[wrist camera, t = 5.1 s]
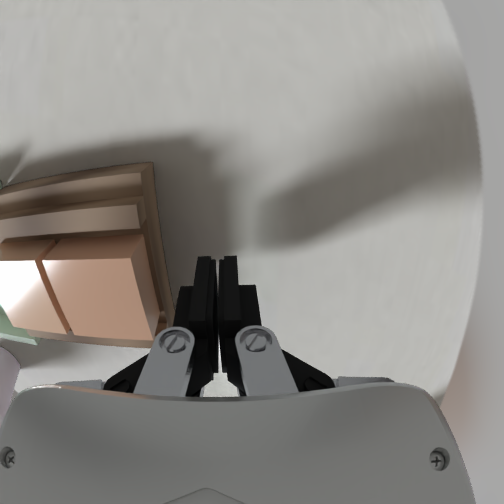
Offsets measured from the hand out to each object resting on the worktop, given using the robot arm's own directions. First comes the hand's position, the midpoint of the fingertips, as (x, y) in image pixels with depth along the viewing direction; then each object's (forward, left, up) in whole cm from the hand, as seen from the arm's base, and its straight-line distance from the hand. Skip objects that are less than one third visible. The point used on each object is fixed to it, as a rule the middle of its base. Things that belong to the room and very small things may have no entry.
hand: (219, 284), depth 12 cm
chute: (+8, 0, -3) cm, 8 cm away
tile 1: (+5, 0, -1) cm, 6 cm away
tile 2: (+10, 0, -1) cm, 11 cm away
